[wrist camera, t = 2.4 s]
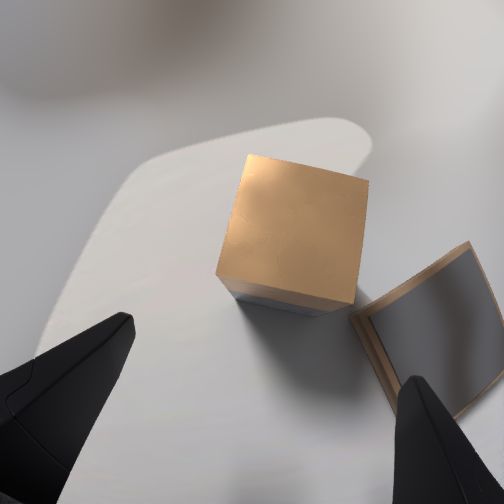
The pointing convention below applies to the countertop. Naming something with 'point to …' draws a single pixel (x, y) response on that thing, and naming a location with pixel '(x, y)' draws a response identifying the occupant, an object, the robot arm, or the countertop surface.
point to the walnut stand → (437, 332)
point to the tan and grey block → (294, 237)
